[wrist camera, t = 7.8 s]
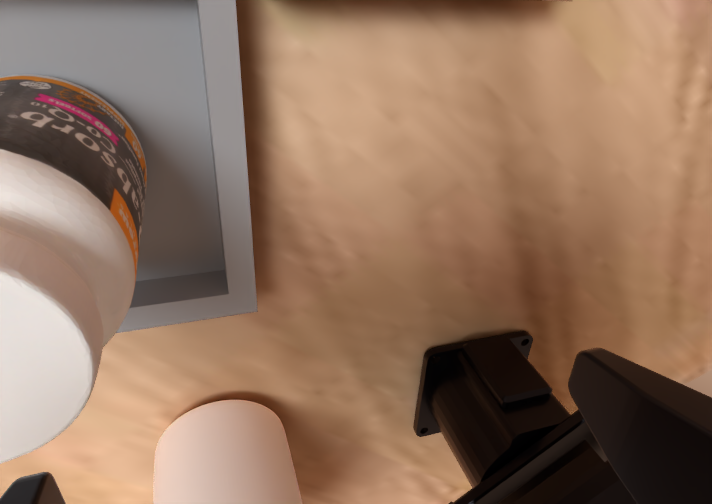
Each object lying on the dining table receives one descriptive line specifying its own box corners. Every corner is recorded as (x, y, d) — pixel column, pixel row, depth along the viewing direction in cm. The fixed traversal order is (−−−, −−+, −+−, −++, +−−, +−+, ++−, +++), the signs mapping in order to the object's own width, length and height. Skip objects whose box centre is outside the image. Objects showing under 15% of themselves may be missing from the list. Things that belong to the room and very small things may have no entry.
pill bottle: (184, 172, 18) (199, 365, 10) (58, 268, 18) (-28, 533, 10) (42, 27, 14) (-115, 136, 6) (-109, 148, 15) (-439, 399, 7)
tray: (249, 279, 21) (257, 311, 20) (-91, 324, 18) (-121, 369, 16) (224, -52, 15) (231, -51, 13) (-300, -77, 12) (-387, -80, 10)
